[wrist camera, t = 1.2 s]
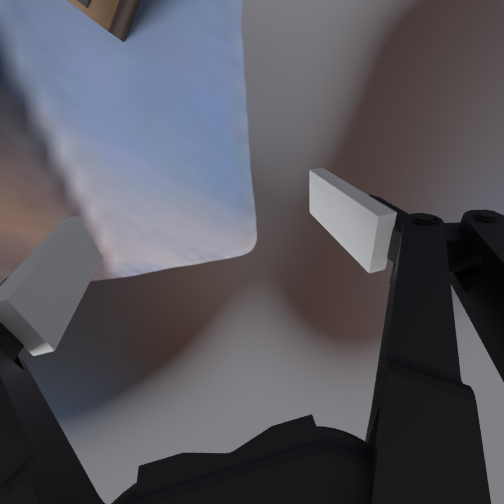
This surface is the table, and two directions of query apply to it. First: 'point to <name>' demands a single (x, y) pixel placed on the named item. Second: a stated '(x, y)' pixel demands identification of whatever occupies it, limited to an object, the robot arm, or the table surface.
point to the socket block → (110, 14)
